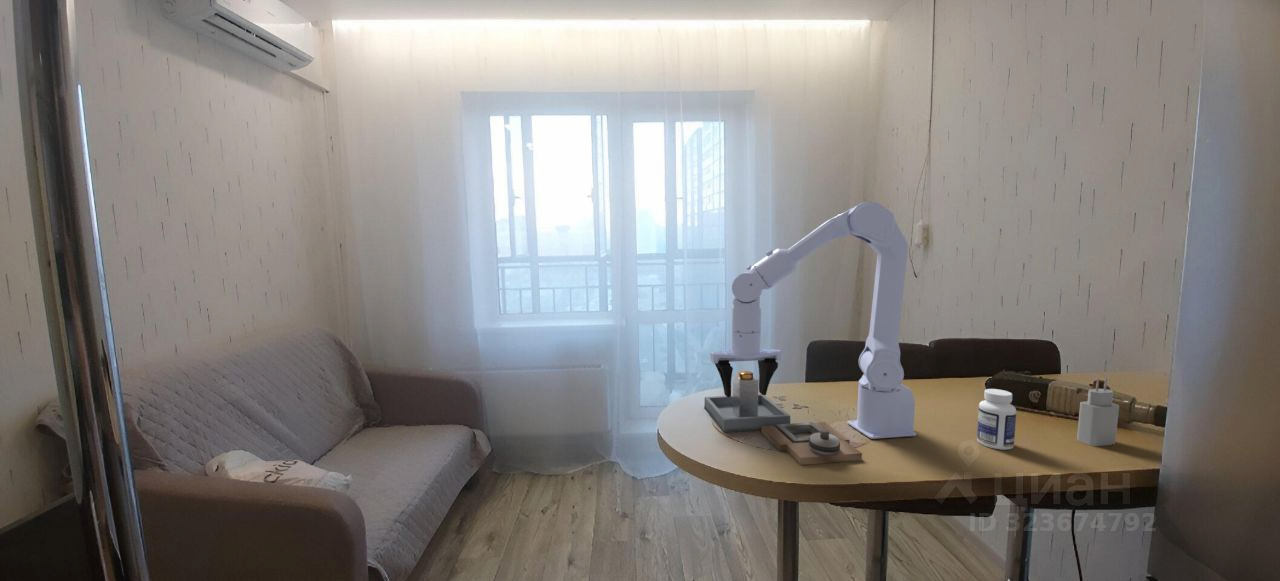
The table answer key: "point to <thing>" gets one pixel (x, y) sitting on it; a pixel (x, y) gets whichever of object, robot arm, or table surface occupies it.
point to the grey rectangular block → (745, 394)
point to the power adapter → (1098, 418)
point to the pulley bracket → (812, 443)
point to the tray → (729, 422)
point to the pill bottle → (996, 420)
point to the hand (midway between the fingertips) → (745, 394)
